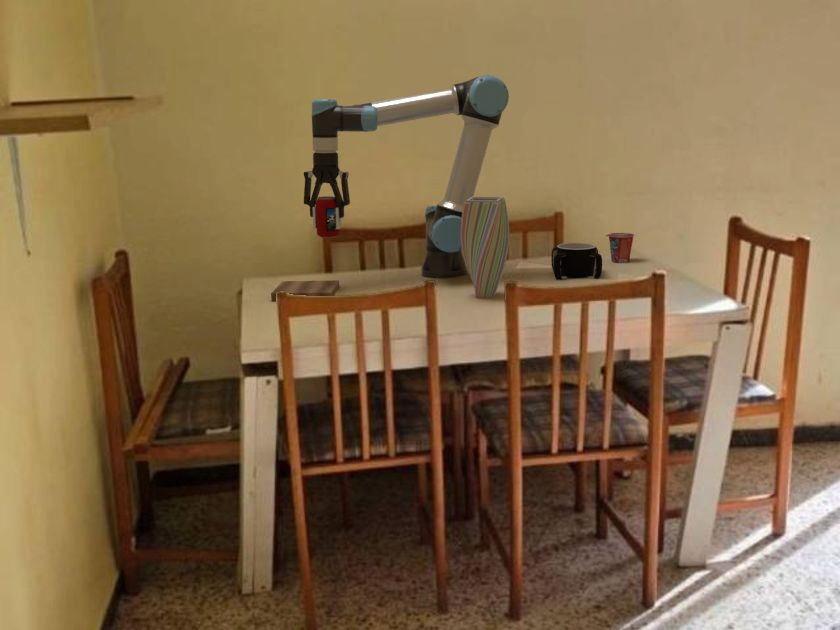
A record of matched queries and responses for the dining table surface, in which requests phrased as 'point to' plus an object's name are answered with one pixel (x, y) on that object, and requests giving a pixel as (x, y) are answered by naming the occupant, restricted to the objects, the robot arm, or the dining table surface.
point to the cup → (620, 246)
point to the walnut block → (307, 288)
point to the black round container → (576, 261)
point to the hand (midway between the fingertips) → (327, 228)
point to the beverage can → (326, 217)
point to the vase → (485, 242)
